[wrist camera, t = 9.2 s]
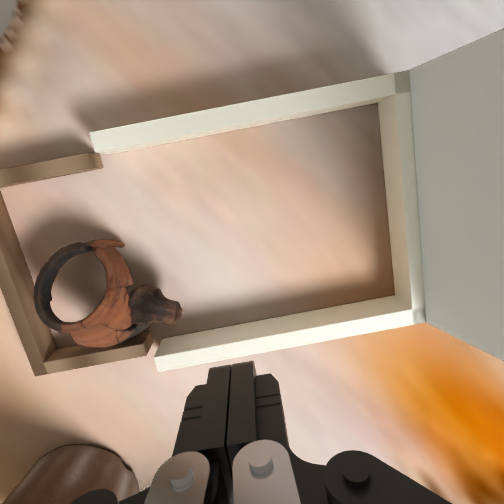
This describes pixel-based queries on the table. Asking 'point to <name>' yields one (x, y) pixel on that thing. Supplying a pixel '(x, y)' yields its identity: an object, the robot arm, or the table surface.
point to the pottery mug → (105, 299)
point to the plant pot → (74, 477)
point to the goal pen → (22, 287)
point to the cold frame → (398, 202)
